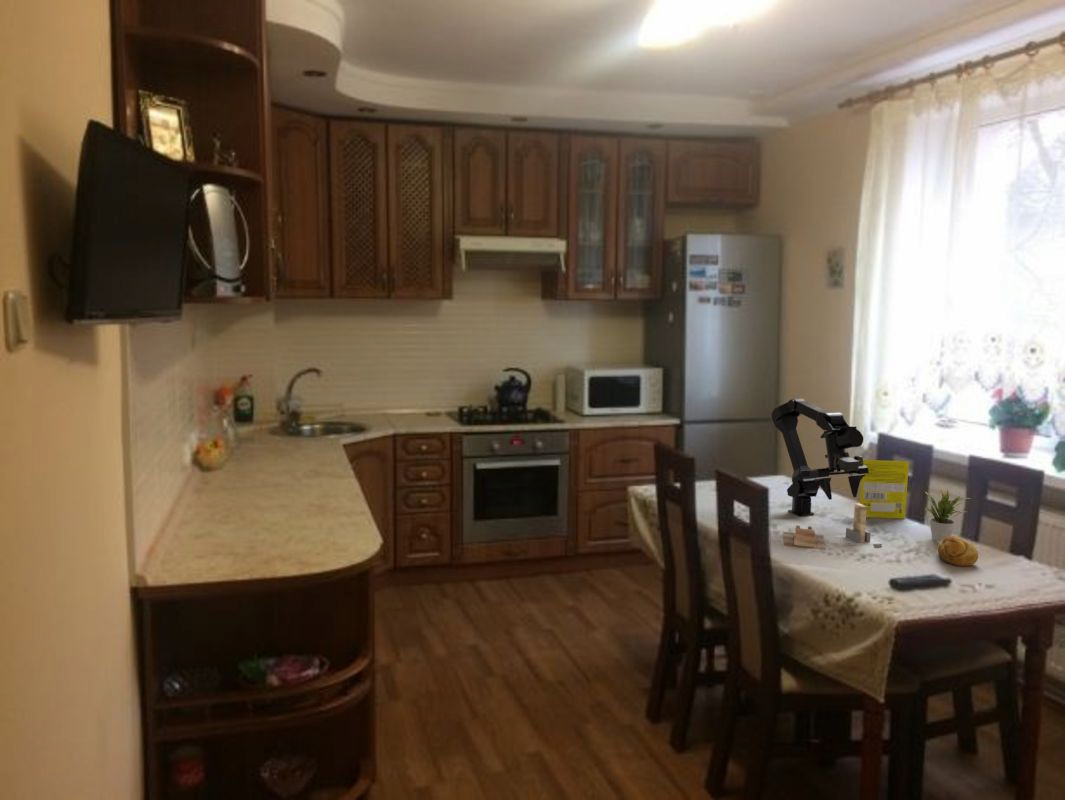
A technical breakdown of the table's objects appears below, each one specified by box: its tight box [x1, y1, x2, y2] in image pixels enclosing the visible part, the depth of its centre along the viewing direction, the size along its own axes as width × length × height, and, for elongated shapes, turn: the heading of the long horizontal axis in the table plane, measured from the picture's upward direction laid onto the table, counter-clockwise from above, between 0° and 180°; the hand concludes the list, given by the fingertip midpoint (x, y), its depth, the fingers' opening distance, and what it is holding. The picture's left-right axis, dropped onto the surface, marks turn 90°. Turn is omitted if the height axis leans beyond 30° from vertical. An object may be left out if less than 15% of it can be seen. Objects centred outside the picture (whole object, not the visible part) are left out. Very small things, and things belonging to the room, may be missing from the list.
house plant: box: [923, 489, 973, 543], centre depth 259 cm, size 14×14×16 cm
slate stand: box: [834, 527, 883, 548], centre depth 257 cm, size 10×10×4 cm
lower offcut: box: [794, 534, 816, 547], centre depth 252 cm, size 4×6×2 cm, turn 74°
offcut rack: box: [782, 525, 827, 551], centre depth 256 cm, size 15×12×4 cm
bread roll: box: [937, 535, 979, 567], centre depth 241 cm, size 13×10×8 cm
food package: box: [859, 459, 910, 519], centre depth 285 cm, size 15×1×20 cm, turn 84°
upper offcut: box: [794, 528, 816, 540], centre depth 251 cm, size 4×5×2 cm, turn 74°
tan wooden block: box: [852, 502, 867, 542], centre depth 256 cm, size 4×2×11 cm, turn 12°
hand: (842, 498), depth 270 cm, fingers open, 9 cm apart
